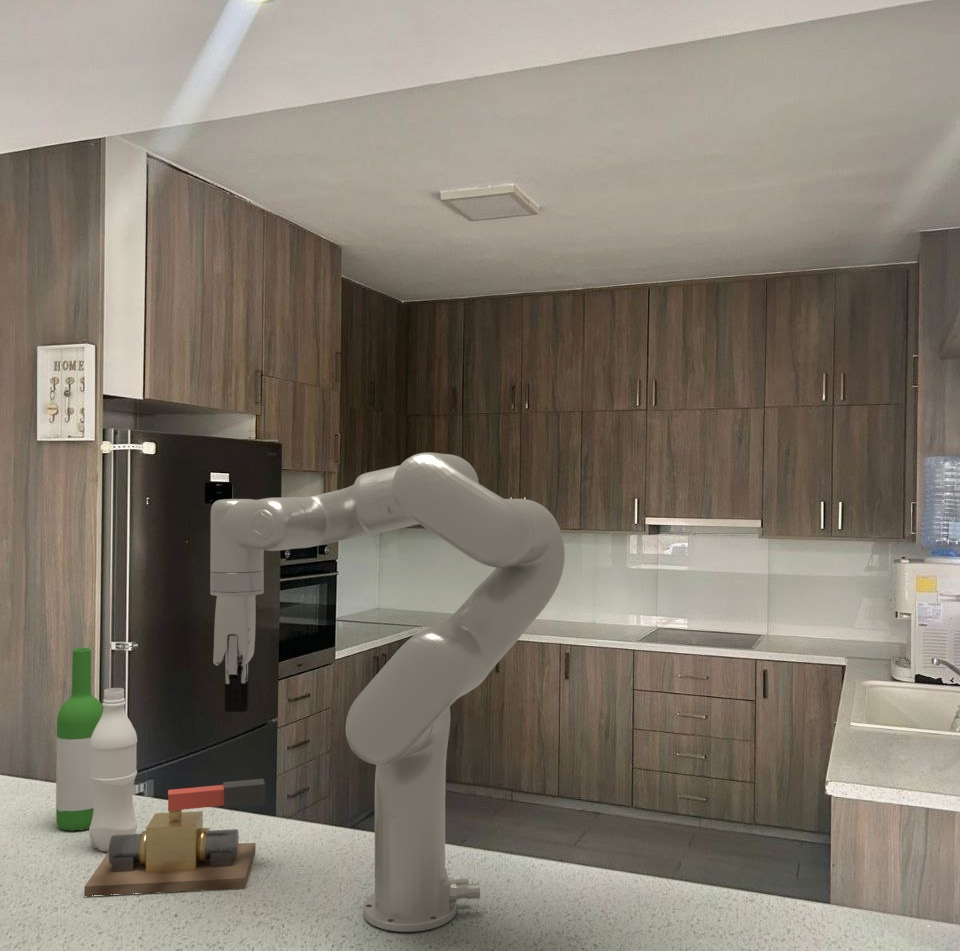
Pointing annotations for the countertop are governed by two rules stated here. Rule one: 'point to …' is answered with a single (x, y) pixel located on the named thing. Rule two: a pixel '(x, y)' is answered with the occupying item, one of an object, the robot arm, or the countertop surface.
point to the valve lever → (216, 796)
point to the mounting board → (172, 877)
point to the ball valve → (173, 845)
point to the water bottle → (113, 772)
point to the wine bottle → (76, 748)
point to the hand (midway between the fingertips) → (236, 710)
